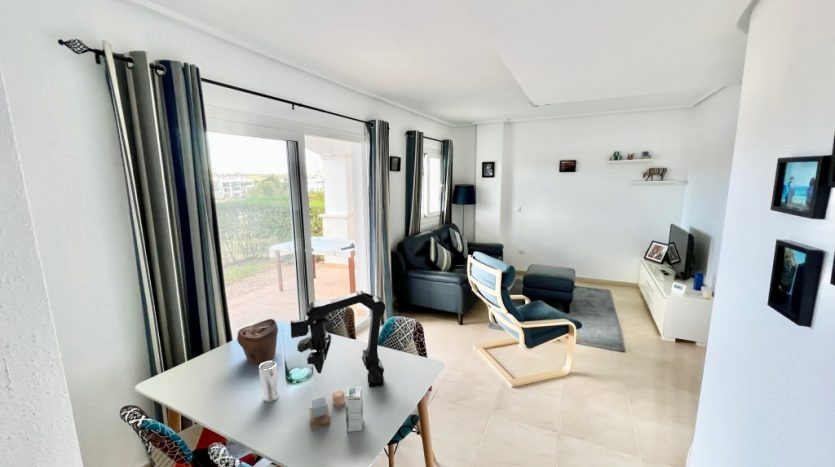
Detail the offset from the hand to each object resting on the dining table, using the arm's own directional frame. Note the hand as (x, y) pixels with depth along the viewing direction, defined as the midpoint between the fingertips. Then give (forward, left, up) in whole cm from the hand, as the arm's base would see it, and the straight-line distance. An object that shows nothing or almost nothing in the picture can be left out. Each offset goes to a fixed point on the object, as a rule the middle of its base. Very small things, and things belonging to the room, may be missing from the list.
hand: (321, 366), depth 147 cm
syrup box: (-15, +20, -13) cm, 28 cm away
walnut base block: (-1, +16, -13) cm, 21 cm away
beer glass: (+22, 0, -13) cm, 26 cm away
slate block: (-1, +16, -9) cm, 18 cm away
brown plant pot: (+37, -32, -13) cm, 51 cm away
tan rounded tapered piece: (-7, +7, -13) cm, 16 cm away
